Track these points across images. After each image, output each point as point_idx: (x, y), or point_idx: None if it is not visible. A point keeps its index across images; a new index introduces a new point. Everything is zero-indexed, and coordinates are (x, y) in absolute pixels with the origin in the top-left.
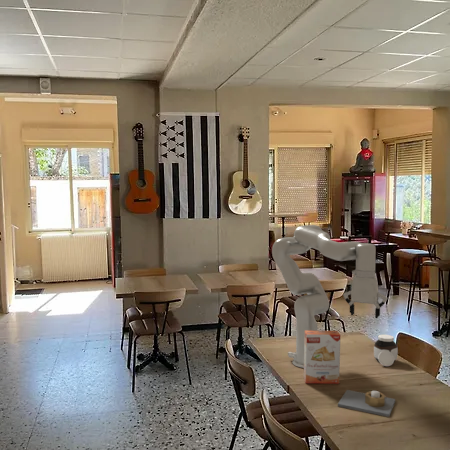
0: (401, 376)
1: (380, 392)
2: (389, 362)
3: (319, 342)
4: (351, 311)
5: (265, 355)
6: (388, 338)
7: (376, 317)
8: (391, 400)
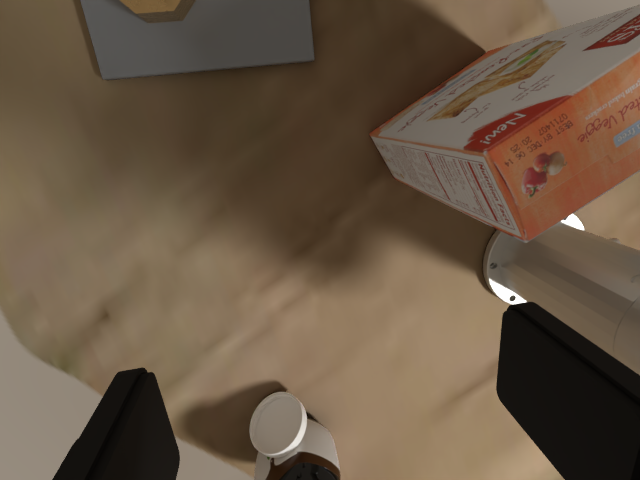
0: (193, 343)
1: (136, 12)
2: (266, 416)
3: (590, 47)
4: (568, 332)
5: None
6: None
7: (122, 374)
8: (108, 52)
